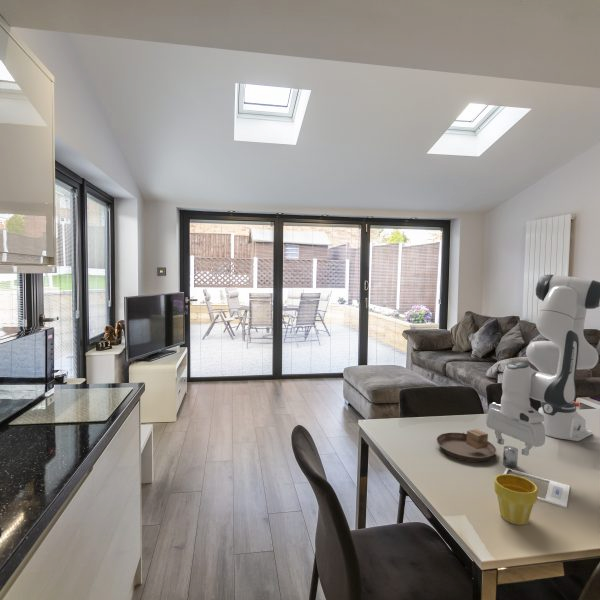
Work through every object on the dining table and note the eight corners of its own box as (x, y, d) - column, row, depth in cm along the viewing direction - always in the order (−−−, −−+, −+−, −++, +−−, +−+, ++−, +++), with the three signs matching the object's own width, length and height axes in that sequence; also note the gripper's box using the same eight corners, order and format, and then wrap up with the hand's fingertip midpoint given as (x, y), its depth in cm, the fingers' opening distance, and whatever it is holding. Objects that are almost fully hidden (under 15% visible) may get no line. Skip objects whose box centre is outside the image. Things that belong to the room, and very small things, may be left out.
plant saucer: (506, 466, 139) (506, 457, 139) (445, 463, 141) (446, 454, 140) (482, 441, 160) (482, 433, 160) (429, 439, 161) (430, 431, 161)
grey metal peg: (508, 461, 143) (509, 445, 142) (519, 467, 139) (521, 450, 138) (499, 463, 141) (500, 447, 141) (510, 469, 137) (512, 452, 137)
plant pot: (484, 508, 113) (486, 475, 113) (515, 504, 116) (517, 471, 115) (511, 531, 103) (513, 495, 102) (544, 527, 105) (547, 491, 105)
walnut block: (476, 441, 152) (476, 428, 152) (487, 447, 147) (487, 433, 147) (466, 443, 150) (467, 430, 149) (477, 449, 145) (478, 435, 145)
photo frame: (566, 506, 114) (497, 484, 125) (566, 509, 114) (497, 488, 125) (569, 485, 126) (506, 467, 137) (569, 488, 126) (506, 470, 137)
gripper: (483, 401, 146) (481, 439, 147) (536, 420, 127) (533, 463, 128) (495, 400, 149) (493, 436, 149) (549, 418, 130) (546, 460, 131)
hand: (512, 449), depth 139 cm, fingers open, 8 cm apart
